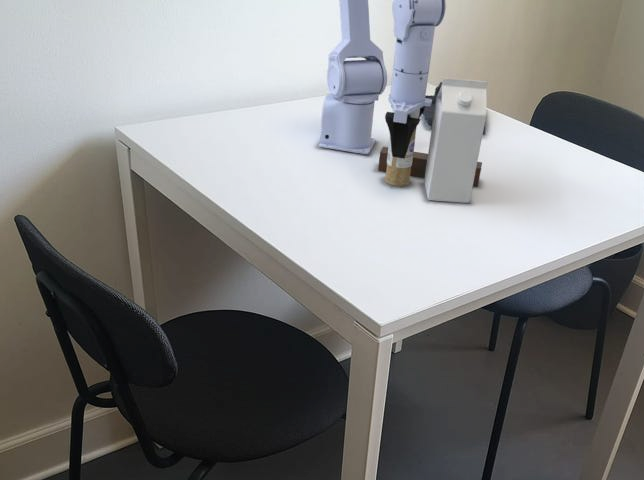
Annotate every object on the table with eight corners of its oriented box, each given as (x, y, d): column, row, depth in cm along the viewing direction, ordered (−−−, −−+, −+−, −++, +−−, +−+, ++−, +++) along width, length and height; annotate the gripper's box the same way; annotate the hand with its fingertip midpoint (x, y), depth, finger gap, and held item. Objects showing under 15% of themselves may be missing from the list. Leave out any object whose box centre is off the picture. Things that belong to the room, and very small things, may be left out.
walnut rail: (377, 171, 128) (379, 152, 126) (380, 165, 131) (382, 146, 129) (477, 187, 127) (481, 168, 125) (478, 180, 129) (482, 162, 127)
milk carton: (423, 183, 126) (440, 71, 114) (463, 186, 126) (483, 75, 115) (427, 201, 120) (445, 84, 109) (469, 204, 121) (491, 88, 109)
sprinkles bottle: (406, 189, 123) (416, 110, 115) (380, 183, 124) (389, 105, 116) (412, 179, 127) (423, 103, 119) (388, 174, 128) (397, 97, 119)
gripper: (430, 85, 108) (418, 171, 116) (440, 61, 119) (428, 141, 127) (384, 78, 108) (375, 164, 117) (398, 55, 120) (389, 135, 128)
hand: (400, 152), depth 122 cm, fingers closed on sprinkles bottle, 4 cm apart
